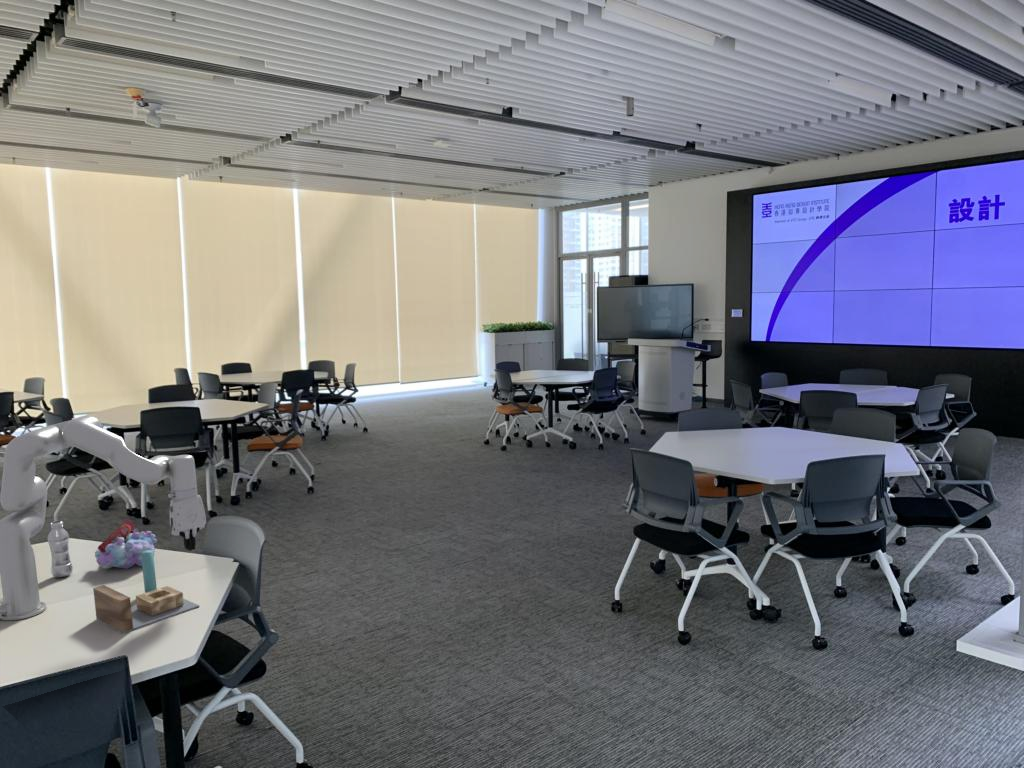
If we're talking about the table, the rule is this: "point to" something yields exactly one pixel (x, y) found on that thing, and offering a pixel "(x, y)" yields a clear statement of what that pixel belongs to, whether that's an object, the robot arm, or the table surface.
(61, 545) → the plastic bottle
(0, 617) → the robot arm
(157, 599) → the oak block
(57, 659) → the table surface
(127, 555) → the cotton candy cloud
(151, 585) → the dowel
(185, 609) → the slate base
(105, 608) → the walnut wall
